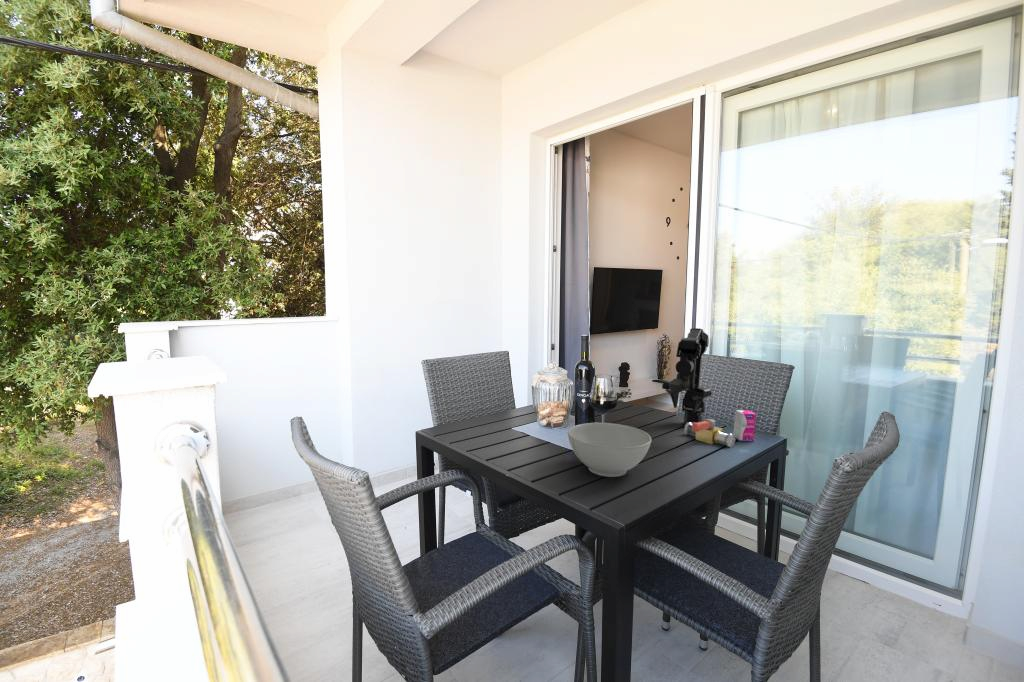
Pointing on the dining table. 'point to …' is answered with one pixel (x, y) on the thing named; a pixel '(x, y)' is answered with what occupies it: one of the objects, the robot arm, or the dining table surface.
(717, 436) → the valve body
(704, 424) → the lever
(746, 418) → the supplement box
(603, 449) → the decorative bowl
